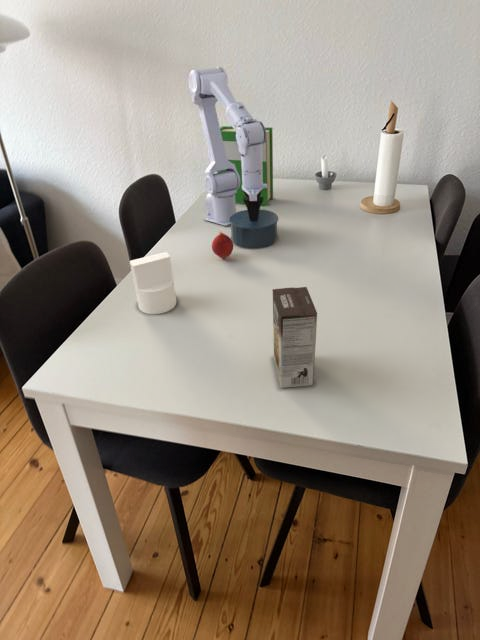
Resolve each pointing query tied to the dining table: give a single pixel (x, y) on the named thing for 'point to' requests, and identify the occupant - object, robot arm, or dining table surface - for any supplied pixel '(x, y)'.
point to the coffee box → (294, 336)
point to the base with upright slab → (154, 283)
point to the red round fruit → (222, 245)
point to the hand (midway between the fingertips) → (253, 216)
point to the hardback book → (235, 158)
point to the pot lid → (244, 222)
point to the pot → (254, 237)
